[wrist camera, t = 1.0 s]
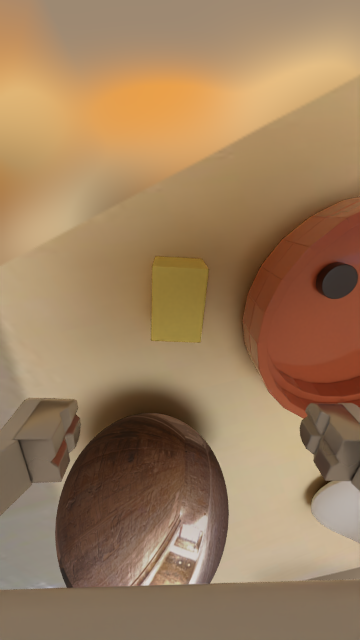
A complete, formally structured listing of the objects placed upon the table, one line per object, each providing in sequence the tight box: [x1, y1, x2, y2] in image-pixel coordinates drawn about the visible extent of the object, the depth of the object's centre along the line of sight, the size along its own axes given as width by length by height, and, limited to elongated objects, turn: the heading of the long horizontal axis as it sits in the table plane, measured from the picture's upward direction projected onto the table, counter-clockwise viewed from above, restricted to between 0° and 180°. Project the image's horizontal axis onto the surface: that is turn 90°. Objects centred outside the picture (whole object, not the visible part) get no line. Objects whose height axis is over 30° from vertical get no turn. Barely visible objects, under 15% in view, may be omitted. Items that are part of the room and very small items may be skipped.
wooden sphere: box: [55, 413, 229, 588], centre depth 22 cm, size 15×15×15 cm
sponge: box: [151, 256, 209, 343], centre depth 20 cm, size 6×4×4 cm, turn 177°
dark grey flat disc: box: [316, 262, 358, 299], centre depth 20 cm, size 3×3×1 cm
